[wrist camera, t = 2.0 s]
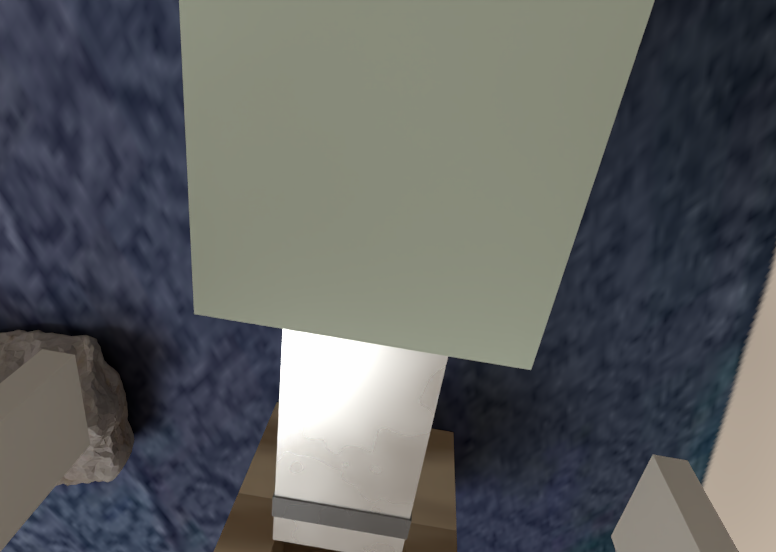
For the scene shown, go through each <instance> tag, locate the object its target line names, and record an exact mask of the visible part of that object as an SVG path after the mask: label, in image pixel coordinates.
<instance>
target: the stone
mask: <svg viewBox="0 0 776 552" xmlns="http://www.w3.org/2000/svg"><path fill="white" fill-rule="evenodd" d="M42 349H44V350H50V351H56V352H61V353H67V354H73V355H75V358H76V363H77V369H78V375H79V381H80V387H81V393H82V398H83V404H84V410H85V416H86V422H87V428H88V433H89V439H90V445H89V446H88V448H87V449H86V450H85V451H84V452H83V453H82V455H81V456H80V457H79V458H78V459H77V461H76V462H75V463H74V464H73V465H72V467H71V468H70V469H69V470H68V471H67V473H66V474H65V475H64V476H63V477H62V479H61V480H60V481H59V482H58V483H57V485H60V484H63V483H64V484H66V485H67V486H68V485H71V484H72V485H76V484H79V483H91V482H93V481H98V482H100V481H105V482H110V481H112V480H113V479H114V478H116V477H117V475H118V474H119V473H120V471H121V470H122V468H123V467H124V465H125V464H126V462H127V460H128V458H129V456H130V454H131V452H132V447H133V443H134V434H133V432H132V429H131V426H130V424H129V422H128V420H127V417H128V410H127V401H126V393H125V391H124V388H123V383H122V381H121V379H120V375H119V373H118V372H117V371H116V370H115V369H113V368H112V367H111V366H109V365H108V364H107V363H106V361H104V357H103V354H102V352H101V347H100V345H99V344H98V343H97V339H95V338H93V337H90V336H87V335H79V336H68V335H63V334H55V333H53V332H51V333H44V332H42V331H39V330H36V331H31V332H26V331H25V330H16V331H12V332H6V333H0V383H1V382H2V381H4V380H5V379H6V378H7V377H9V376H10V375H11V374H12V373H14V372H15V371H16V370H17V369H18V368H20V367H21V366H22V365H23V364H25V363H26V362H27V361H28V360H30V359H31V358H32V357H33V356H34V355H36V354H37V353H38V352H39V351H41V350H42ZM57 485H56V486H57Z"/></svg>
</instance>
